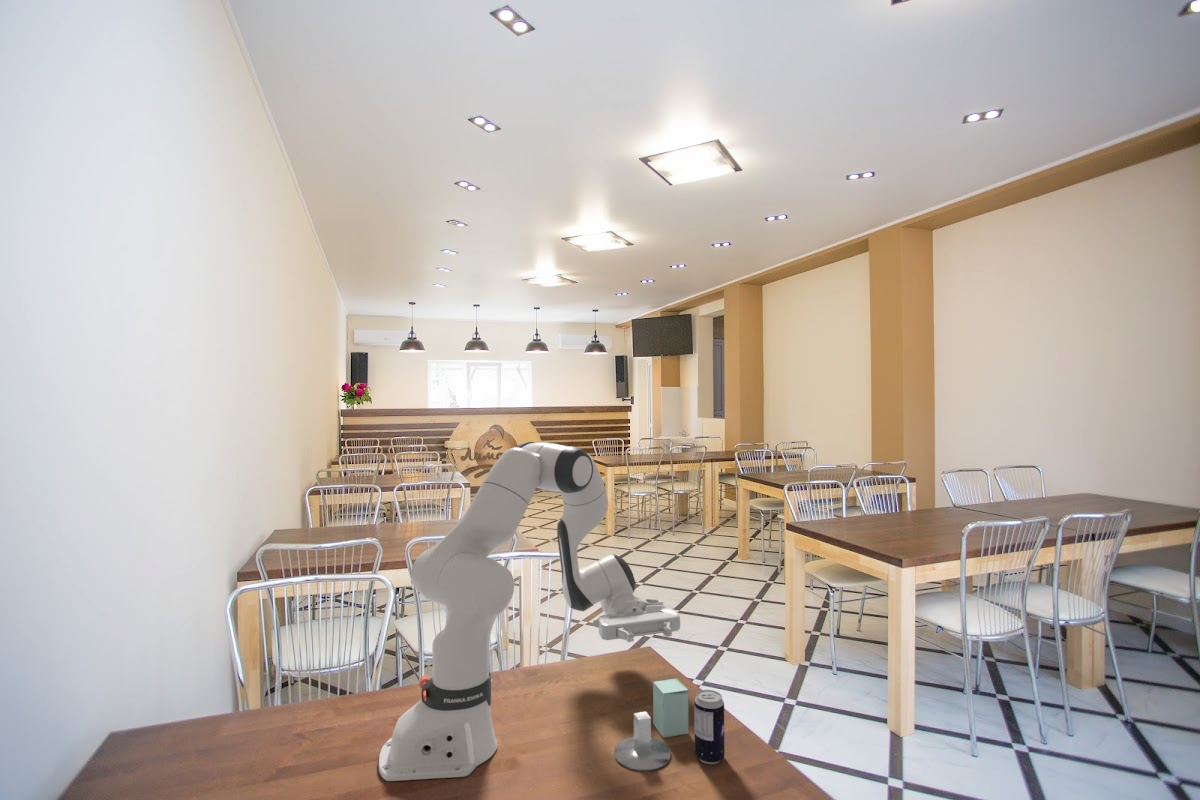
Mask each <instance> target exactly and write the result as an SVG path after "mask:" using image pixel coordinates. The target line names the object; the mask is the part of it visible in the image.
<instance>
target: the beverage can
mask: <svg viewBox="0 0 1200 800" xmlns="http://www.w3.org/2000/svg"><path fill="white" fill-rule="evenodd" d="M693 711H694V712H693V713H694V754H695V756H696V757H697V758H698V760H699V761H700V762H701V763H703V764H706V765H717V764H719V763H720V762H721V761H722V760H723V759H724V758H725V756H726V755H725V753H726V752H725V701H724V700H723V696H722V694H721V693H719V692H718V691H716V690H713V689H702V690H699V691H697V693H696V697H695V698H694V710H693Z"/></svg>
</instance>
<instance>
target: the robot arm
mask: <svg viewBox="0 0 1200 800" xmlns="http://www.w3.org/2000/svg"><path fill="white" fill-rule="evenodd" d="M596 464H597V463H596V462H595V460H594V459H593V457H592V456H591V455H590V454H589V453H588V452H586V451H585V450H583V449H582V448H580V447H577V446H571V445H570V446H568V445H564V444H558V443H553V442H543V441H541V442H533V441H526V442H523V443H519V444H518V445H516V446H515V447H511V448H508V449H506V450H505V451H504V452H503V453H502V454H501V455H500V456H499V458H498V459H497V460H496V461H495V462H494V463H493V466H492V467H491V468H490V470H489V472H488V473H487V474H486V476H485V478H484V479H483V481H482V483H481V485H480V486H479V488H478V490H477V492H476V494H475V495H474V496H473V499H472V501H471V503H470V504H469V506H468V508H467V510H466V511H465V513H464V514H463V516H462V517H461V518H460V520H459V521H457V523H456V525H455V526H454V527H453V528H452V529H451V530H449V532H448V533H447V534H446V535H445V536H444V537H443V538H442V539H441V540H440V541H439V542H437V543H436V544H435V545H433V546H432V547H430V548H428V549H426V550H424V551H422V552H421V553H420V554H419V555H418V556H417V558H416V559H414V560H415V561H414V562H413V564H412V567H411V571H410V579H411V583H412V586H413V588H414V589H415V590H416V591H417V592H419V594H421V595H422V596H423V597H424V598H426V599H427V600H429V601H430V602H433V603H435V604H439V605H440V606H444V607H445V608H446V610H447V614H446V615H447V616H446V621H445V626H444V628H443V629H442V630H441V631H439V633H437V634H436V636H435V637H434V639H433V641H432V645H431V646H432V647H431V648H432V649H431V650H432V651H431V652H432V656H431V657H432V663H431V667H432V671H431V672H432V674H431V676H432V677H431V678H430V677H429V675H422V676H421V677H420V678H419V680H418V681H419V683H418V684H419V688H420V689H421V699H420V700H418V701H417V702H416V703H415V704H414V705H412V707H410V708H409V709H408V710H407V711H405V712H404V713H403V714H401V715H400V716H399V718H398V720H397V721H396V723H395V726H394V729H393V731H392V737H390V738H389V739H388V740H387V741H386V742H385V743H384V744H383V745H382V747H381V750H380V752H379V757H378V772H379V775H380V776H381V778H382V779H383V780H385V781H386V782H399V781H411V780H412V781H414V780H430V779H446V778H463V777H464V778H465V777H467V776H469V775H470V774H471V773H473V771H474V770H475V769H476V768H477V767H478V766H479V765H481V764H482V763H485V762H486V761H488V760H489V759H490V758H491V757H492V756H493V755H494V754H495V753H496V750H497V748H498V740H497V737H496V734H495V730H494V725H493V717H492V710H491V704H492V698H493V683H492V682H493V681H492V676H491V672H490V644H491V643H490V641H491V634H492V630H493V627H494V624H495V622H496V619H497V618H498V616H499V615H500V614H502V613H503V612H504V611H505V610H506V609H507V608H508V606H509V605H510V603H511V600H512V599H513V596H514V592H515V591H514V590H515V581H514V576H513V574H512V572H511V570H509V569H508V568H507V567H506V566H505V565H503V564H501V563H500V562H498V561H496V559H493V558H490V557H489V556H490V555H491V554H492V553H493V552H494V551H495V550H497V549H498V548H499V547H501V546H503V545H505V544H507V543H508V542H510V541H511V539H513V537H514V536H515V533H516V532H517V529H518V527H519V525H520V523H521V521H522V519H523V517H524V516H525V513H526V512H527V509H528V507H529V505H530V503H531V501H532V499H533V496H534V494H535V491H536V489H539V490H542V491H546V492H555V493H556V492H557V493H558V492H559V493H560V496H561V500H562V502H563V511H562V516H561V519H560V520H559V521H558V523H557V526H556V530H557V531H556V534H557V535H556V536H557V545H558V554H559V562H560V568H561V581H562V582H561V585H562V594H563V597H564V600H565V602H566V603H567V605H568V607H569V608H570V609H573V610H575V611H579V612H585V611H587V610H589V609H590V608H591V607H594V605H595V604H598V603H600V606H601V609H602V611H603V612H604V614H603V615H600V616H599V617H598V618H597V619H595V620H593V622H592V624H593V626H594V627H595V628H597V629H598V635H599V636H600V638H601V639H602V640H605V641H611V640H619V639H620V640H624V641H626V642H627V643H630V642H634V641H635V638H634V637H641V636H642V637H643V636H649V635H650V636H651V635H656V634H657V635H658V634H662V635H663V636H664V637H665V638H667V637H672V635H673V634H672V633H673V632H678V631H679V630H680V628H681V616H680V614H679V613H678V612H676V611H675V610H674V609H673V608H671V607H670V606H668V605H664V601H663V600H661V599H650V598H649V599H648V598H647V599H646V598H641V597H637V596H635V595H634V593H635V589H636V580H635V576H634V574H633V571H632V569H631V567H630V566H629V564H628V562H626V560H625V559H624V558H622V557H621V556H619V555H617V554H615V553H614V554H613V553H611V554H608V555H607V556H605V557H602V558H600V559H598V560H597V561H594V562H592V563H591V564H587V565H586V566H584V567H582V568H579V567H580V566H579V561H578V560H579V557H578V548H579V546H580V544H581V543H582V541H583V540H584V539H585V538H586V537H587V536H588V535H589V533H591V532H592V531H594V529H595V528H597V527H598V526H599V525H600V524H601V523H602V521H603V520H604V518H605V517H606V515H607V512H608V509H609V499H608V494H607V491H606V490H607V489H606V487H605V484H604V480H603V478H602V475H601V473H600V471H599V468H598V466H597V465H596Z"/></svg>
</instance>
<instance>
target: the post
mask: <svg viewBox="0 0 1200 800" xmlns="http://www.w3.org/2000/svg"><path fill="white" fill-rule="evenodd" d="M651 722H652V717H651V716H650V715H649V713H648V712H647V711H639V712H634V713H633V736H631V737H627V738H623V739H622V740H620V741H619V742H618V743H617V744H616V745H615V747H614V752H613V754H614V758H615V760H616V761H617V762H618V764H619V765H620V766H623V767H624V768H626V769H629V770H631V771H636V772H651V771H656V770H660V769H661V768H663V767H665V766H666V765H668V764H669V762H670V760H671V755H672V754H671V749H670V748H669V746H668V745H667V744H666V742H664V741H662V740H660V739H658V738H656V737H652V723H651Z"/></svg>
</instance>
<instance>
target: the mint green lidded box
mask: <svg viewBox="0 0 1200 800" xmlns="http://www.w3.org/2000/svg"><path fill="white" fill-rule="evenodd" d="M652 684H653V685H652V689H653V690H652V691H653V693H652V694H653V695H652V697H653V698H652V700H653V702H652V703H653V704H652V705H653V706H652V707H653V708H652V712H653V713H652V714H653V717H652V718H653V719H652V720H653V721H652V722H653V723H652V724H653V726H654V727H655V728H656V730H657V731H658V733H659V734H660V735H661V736H662V738H663V739H664V738H670V737H675V736H682V735H687V734H689V689H688V688H687V687H686V686H685V685H684V684H683V683H682V682H681V681H680V680H679V679H678V678H670V679H663V680H655V681H653V682H652Z"/></svg>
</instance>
